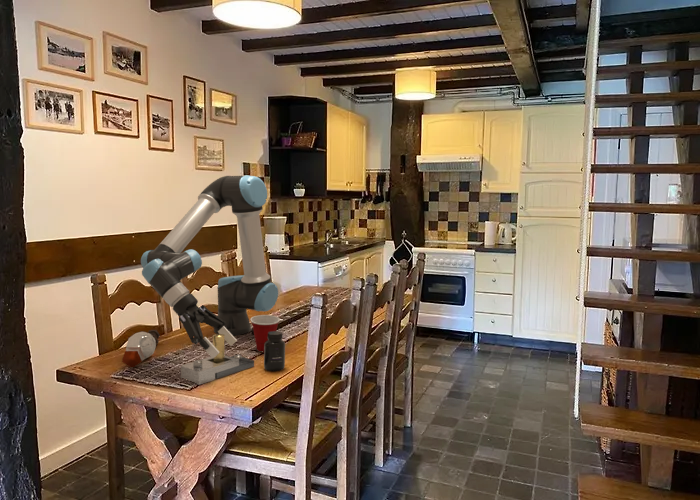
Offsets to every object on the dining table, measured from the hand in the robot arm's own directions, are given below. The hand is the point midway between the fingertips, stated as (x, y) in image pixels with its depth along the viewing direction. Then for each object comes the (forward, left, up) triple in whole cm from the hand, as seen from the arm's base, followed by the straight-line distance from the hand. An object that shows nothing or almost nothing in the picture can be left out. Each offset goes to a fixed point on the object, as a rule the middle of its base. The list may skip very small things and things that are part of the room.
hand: (225, 349), depth 162 cm
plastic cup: (-25, -8, -8) cm, 27 cm away
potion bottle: (+11, -31, -8) cm, 34 cm away
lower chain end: (-2, -2, -8) cm, 8 cm away
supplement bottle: (-13, +9, -8) cm, 18 cm away
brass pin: (+1, -2, -8) cm, 8 cm away
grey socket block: (+4, -2, -8) cm, 9 cm away
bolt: (-3, -47, -8) cm, 48 cm away
